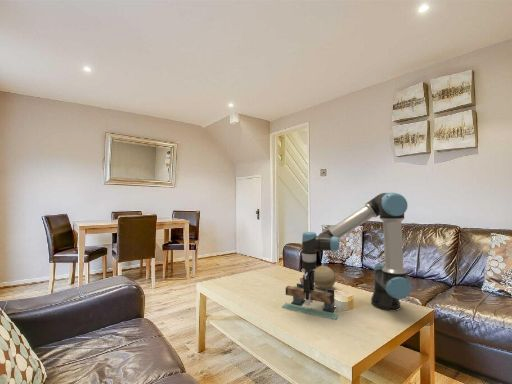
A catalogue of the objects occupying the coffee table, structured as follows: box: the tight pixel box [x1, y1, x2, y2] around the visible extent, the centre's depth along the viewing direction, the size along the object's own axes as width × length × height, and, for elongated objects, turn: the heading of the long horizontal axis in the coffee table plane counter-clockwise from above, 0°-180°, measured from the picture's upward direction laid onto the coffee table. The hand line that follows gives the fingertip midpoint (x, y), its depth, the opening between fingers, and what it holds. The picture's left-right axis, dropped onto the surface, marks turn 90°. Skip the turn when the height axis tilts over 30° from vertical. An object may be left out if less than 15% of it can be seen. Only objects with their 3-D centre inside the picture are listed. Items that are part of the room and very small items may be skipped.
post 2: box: [321, 288, 337, 313], centre depth 147 cm, size 6×9×10 cm, turn 151°
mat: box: [281, 302, 339, 320], centre depth 144 cm, size 30×6×1 cm, turn 61°
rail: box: [285, 285, 335, 304], centre depth 144 cm, size 26×4×4 cm, turn 61°
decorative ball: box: [314, 265, 336, 290], centre depth 179 cm, size 15×15×15 cm
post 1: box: [290, 282, 305, 306], centre depth 155 cm, size 6×9×10 cm, turn 151°
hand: (308, 303), depth 144 cm, fingers closed on rail, 3 cm apart
